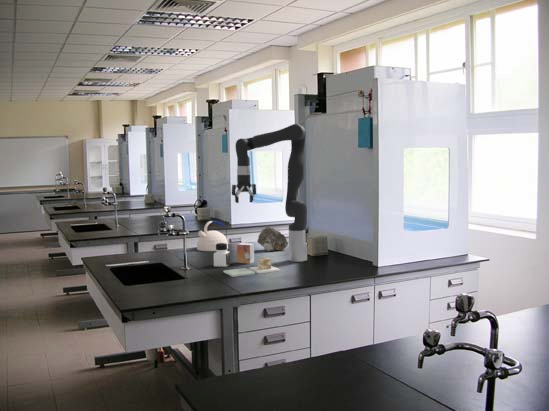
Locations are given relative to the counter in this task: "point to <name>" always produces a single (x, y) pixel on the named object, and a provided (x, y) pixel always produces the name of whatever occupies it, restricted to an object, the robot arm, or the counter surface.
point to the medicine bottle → (221, 255)
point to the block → (264, 263)
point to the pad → (257, 270)
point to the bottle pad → (239, 272)
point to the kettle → (210, 238)
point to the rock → (272, 239)
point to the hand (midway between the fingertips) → (244, 202)
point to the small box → (245, 253)
